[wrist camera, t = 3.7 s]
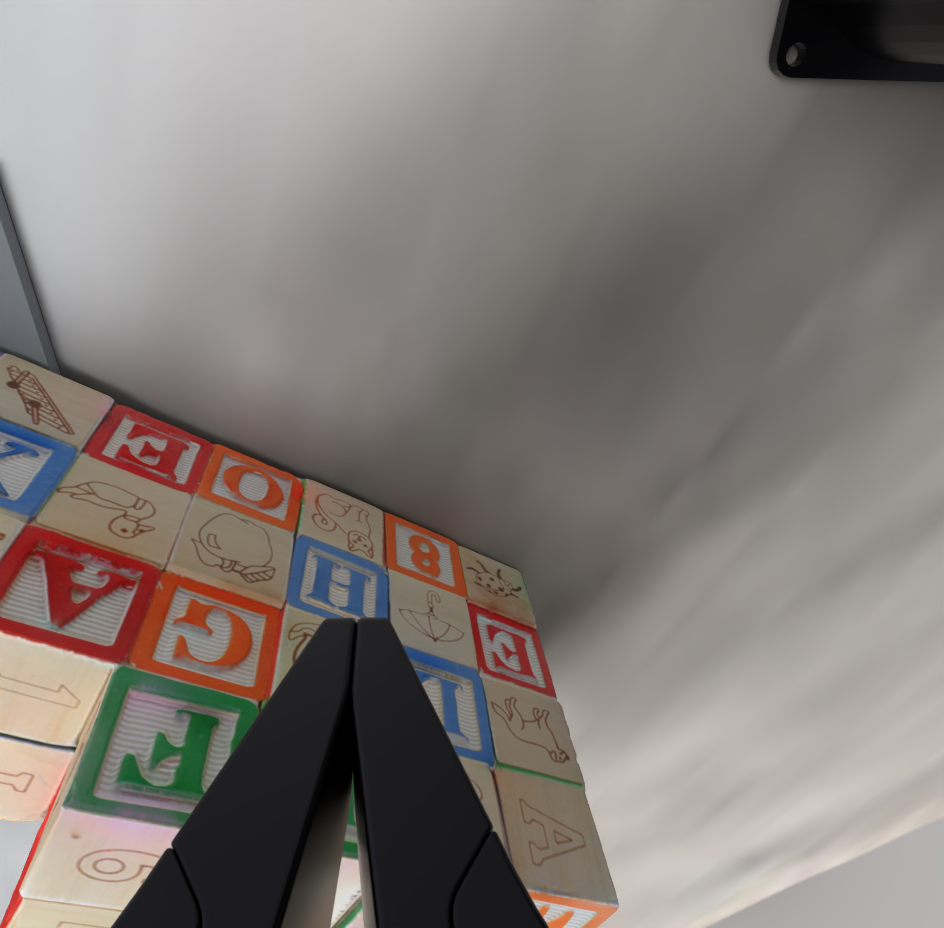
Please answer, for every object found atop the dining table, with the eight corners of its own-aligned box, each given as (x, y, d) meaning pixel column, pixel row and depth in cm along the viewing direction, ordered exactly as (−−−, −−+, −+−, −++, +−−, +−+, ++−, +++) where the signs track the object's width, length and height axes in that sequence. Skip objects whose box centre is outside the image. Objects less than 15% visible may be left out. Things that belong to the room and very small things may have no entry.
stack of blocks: (-159, 467, 20) (-710, 906, 10) (-119, 291, 18) (-789, 633, 8) (442, 672, 28) (482, 1034, 18) (527, 569, 26) (629, 920, 16)
